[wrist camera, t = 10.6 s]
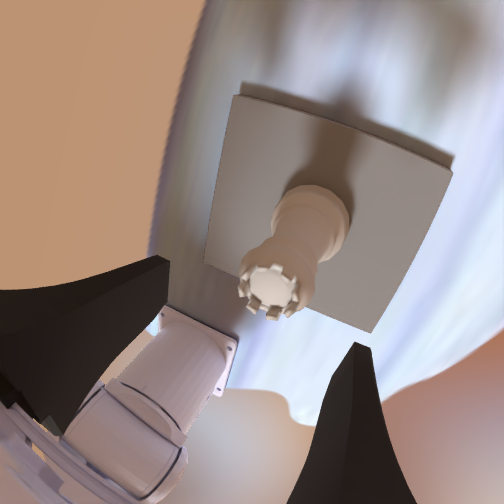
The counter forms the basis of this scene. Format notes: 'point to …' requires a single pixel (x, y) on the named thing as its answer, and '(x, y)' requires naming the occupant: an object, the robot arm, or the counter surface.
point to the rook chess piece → (293, 251)
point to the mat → (341, 184)
